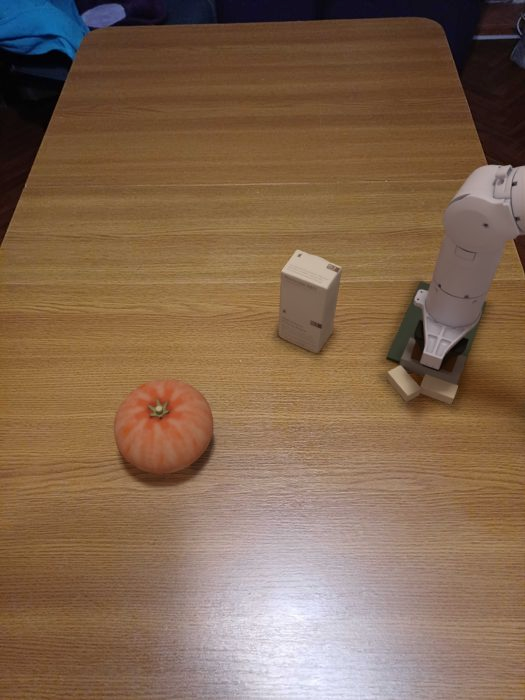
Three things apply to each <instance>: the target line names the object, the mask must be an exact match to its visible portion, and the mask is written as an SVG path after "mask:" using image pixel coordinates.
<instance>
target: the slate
mask: <svg viewBox="0 0 525 700" xmlns="http://www.w3.org/2000/svg"><path fill="white" fill-rule="evenodd" d="M429 287H430V283H427V282H425V281H420V280H419V283H418V285H417V288H416V290H415V292H414V294H413V296H412V299H411V301H410V304H409V305H408V307H407V310H406V312H405V315H404V317H403V319H402V321H401V323H400V326H399V328H398V330H397V332H396V335H395V336H394V339H393V341H392V343H391V345H390V347H389V350H388V352H387V354H386V357H385V360H387V361H390V362H392V363H395V364H397V365H399V364H400V361H401V357H402V355H403V353H404V350H405V348H406V346H407V344H408V341H409V339H410V338H413V339H414V332H415V329H416V327H417V324H418V322H419V320H422V321H423V311H422V309H421V308H420V307H418V306H416V305H414V299H415V296H416V294H417V292H418V291H419V290H426V291H428V290H429ZM486 305H487V301H486V300H485V301H484V304H483V306H482V313H481V316H480V319H479V321H478V323H477V324H476V325H475V326H474V327H473V328H472V329H471V330H470V331H469V332H468V333H467V334H466V335H465V336H464V338H467V339H469V341H468V344H467V346H466V349H465V351H464V352H463V353H462V354H461V355H462V356H465V357H467V358H466V361H467V359H468V356H469V353H470V350H471V348H472V345H473V342H474V340H475V336H476V334H477V330H478V327H479V325H480V323H481V319H482V316H483V314H484V311H485V308H486ZM466 361H465V364H464V366H463V369H462V372H461V375H460V377H459V380H458V382H457V385H458V384H459V382H460V379H461V376H462V373H463V370H464V367H465V365H466Z"/></svg>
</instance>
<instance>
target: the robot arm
mask: <svg viewBox="0 0 525 700" xmlns="http://www.w3.org/2000/svg"><path fill="white" fill-rule="evenodd" d="M442 225H443V226H442V227H443V230H444V236H443V238H442V241H441V244H440V248H439V251H438V256H437V259H436V262H435V267H434V270H433V273H432V277H431V279H430V283H429V284H430V287H429V290H428V291H426V290H419V291H418V292H417V294H416V296H415V299H414V305H416V306H418V307H420V308H421V309H422V311H423V321H422V320H419V322H418V324H417V327H416V329H415V332H414V339H415V341H416V342H417V343H418V344H419V346H420V349H421V361H420V363H421V364H422V365H423V366H424V367H427V368H429V369H432V370H435V371H440V370H441V369H442V368H443V367H444V366H445V364H446V363H447V362H448V361H449V360H450V359H451V358H453V357H455V356H458V355H461V354H462V353H463V352H464V351H465V349H466V346H467V344H468V341H469V339H467V338H464V336H465V335H466V334H467V333H468V332H469V331H470V330H471V329H472V328H473V327H474V326H475V325H476V324H477V323H478V321H479V319H480V316H481V313H482V306H483V304H484V301H485V302H486V299H487V296H488V294H489V291H490V288H491V286H492V284H493V281H494V279H495V277H496V273H497V271H498V268H499V267H500V266H499V265H500V263H501V262H502V258H503V256H504V252H505V245H506V243H507V242H508V241H510V240H516V239H517V237H518V236H524V235H525V165H521V166H516V167H513V166H512V165H511V164H508V165H500V164H498V165H497V164H488V165H483V166H480V167H478V168H476V169H475V170H473V171H472V172H471V173H470V174H469V175H468V176H467V178H466V180H464V182H463V183H462V185H461V186H460V188H459V189H458V191H457V192H456V193H455V194H454V196H453V198H452V199H451V201H450V202H449V203H448V205H447V206H446V209H445V211H444V212H443V215H442Z"/></svg>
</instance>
